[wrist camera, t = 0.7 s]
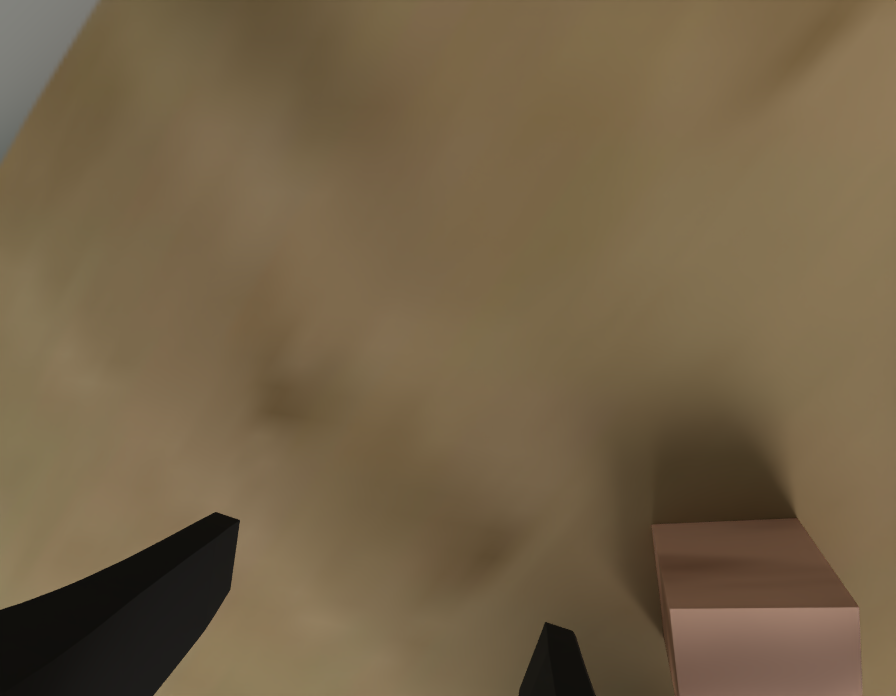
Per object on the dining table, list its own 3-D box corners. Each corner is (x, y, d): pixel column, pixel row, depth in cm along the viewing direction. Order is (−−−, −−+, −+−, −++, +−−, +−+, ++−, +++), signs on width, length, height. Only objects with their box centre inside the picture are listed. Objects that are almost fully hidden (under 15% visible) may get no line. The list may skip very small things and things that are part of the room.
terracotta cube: (803, 637, 22) (864, 756, 17) (663, 637, 23) (685, 747, 18) (796, 516, 21) (859, 607, 16) (651, 523, 22) (669, 608, 18)
